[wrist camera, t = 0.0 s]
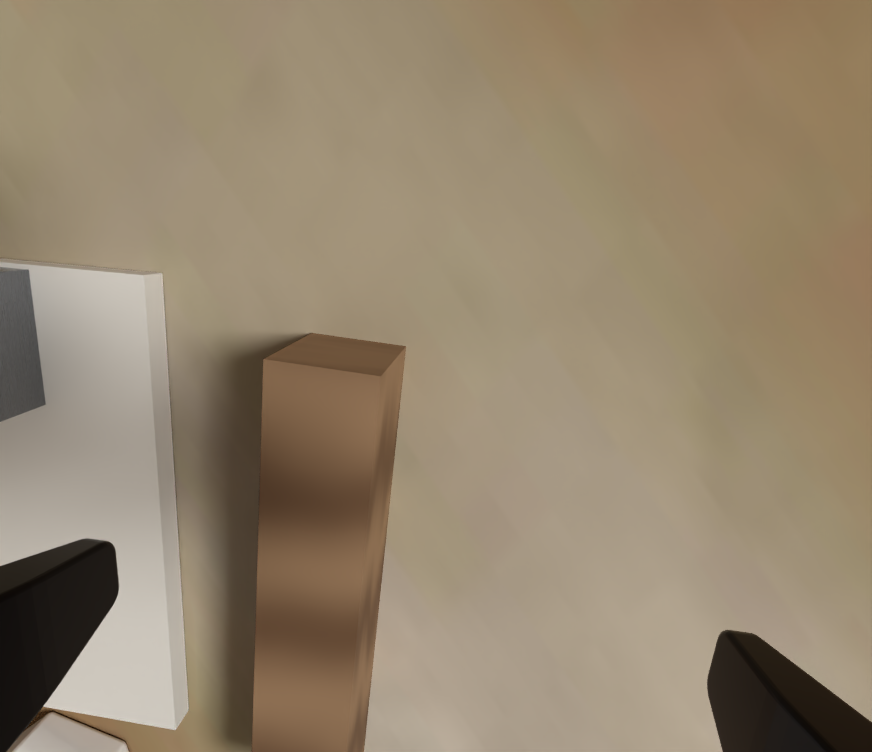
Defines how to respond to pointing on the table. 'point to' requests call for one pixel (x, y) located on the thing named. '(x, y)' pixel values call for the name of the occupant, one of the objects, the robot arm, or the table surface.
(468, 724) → the table surface
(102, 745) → the jar
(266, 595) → the walnut rail
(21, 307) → the bracket
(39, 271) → the mounting board
